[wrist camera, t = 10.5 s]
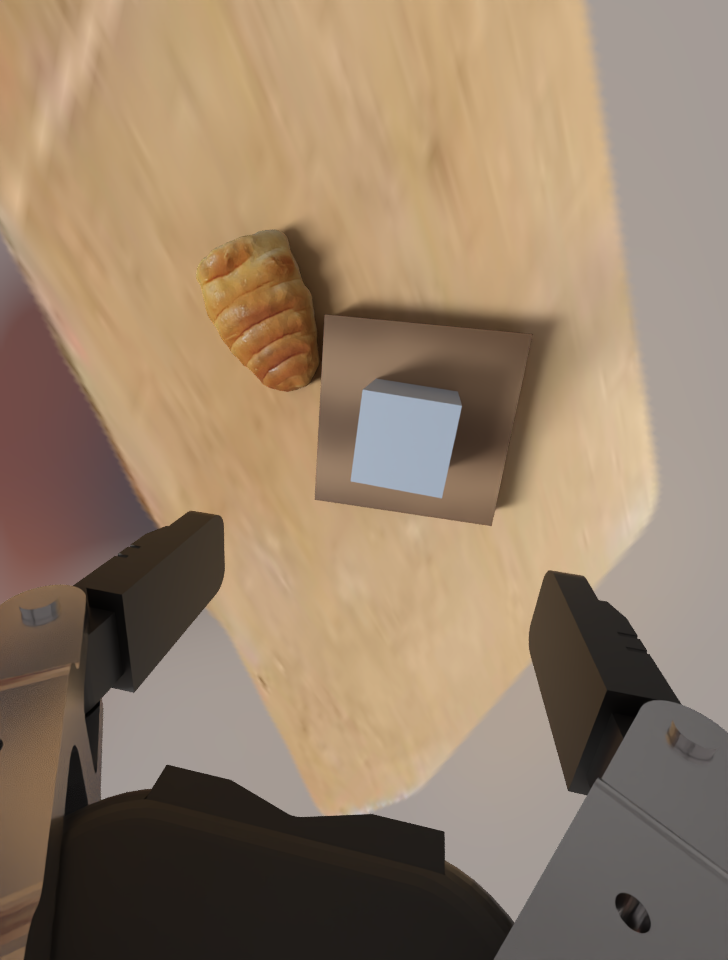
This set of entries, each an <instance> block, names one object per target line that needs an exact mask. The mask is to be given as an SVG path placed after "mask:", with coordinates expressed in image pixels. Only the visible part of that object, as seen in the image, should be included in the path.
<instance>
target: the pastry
mask: <svg viewBox="0 0 728 960" xmlns="http://www.w3.org/2000/svg"><path fill="white" fill-rule="evenodd" d="M196 279H197V281H198V282H199V284H200V286H201V289H202V293H203V298H204V302H205V307H206V311H207V314H208V316H209V318H210V320H211V321H212V322H213V324H214V326H215V327H216V328H217V330H218V332H219V334H220V336H221V338H222V340H223V341H224V343H225V344H227V346H228V347H229V349H230V351H231V352H232V354H233V355H235V356H236V357H237V358H238V359H239V360H240V361H241V363H242V364H243V365H244V366H246V367H248V368H249V369H250V370H251V371H252V372H253V373H254V374H255V375H256V376H257V377H258V378H259V379H260V381H261V382H262V383H263V384H264V385H265V386H267V387H269V388H272V389H276V390H280V391H286V392H288V391H294V390H297V389H299V388H301V387H304V386H307V385H308V384H309V383H310V382H311V380H312V378H313V376H314V373H315V371H316V369H317V367H318V365H319V355H318V346H317V333H318V332H317V328H316V323H315V319H314V314H315V312H314V309H313V300H312V296H311V293H310V291H309V289H308V288H307V287H306V286H305V285H304V283H303V281H302V277H301V274H300V271H299V267H298V265H297V262H296V260H295V259H294V257H293V255H292V253H291V251H290V245H289V241H288V238H287V236H286V235H285V234H284V233H283V232H281V231H279V230H265V231H259V232H257V233H256V234H253V235H249V236H243V237H239V238H237V239H236V240H233V241H230V242H228V243H226V244H224V245H222V246H220V247H217V248H215V249H214V250H213V251H212V252H211V253H210V254H209V255H208V256H207V257H205V258H203V260H202V261H201V262H200V264H199V266H198V268H197V274H196Z"/></svg>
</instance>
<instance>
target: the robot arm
mask: <svg viewBox="0 0 728 960" xmlns="http://www.w3.org/2000/svg"><path fill="white" fill-rule="evenodd" d="M224 571H225V561H224V523H223V519H222V517H221V516H219V515H214V514H208V513H202V512H196V511H189V512H187V513H186V514H185V515H183V516H182V517H180V518H179V519H178V520H176V521H175V522H174V523H172V524H171V525H170V526H165V527H163V528H160V529H157V530H155V531H152V532H150V533H147V534H145V535H144V536H142V537H141V538H140V539H138V540H137V541H135V542H134V543H132V544H131V546H130V547H127V548H126V549H124V550H123V551H121V552H120V553H118V556H114V557H113V558H111V559H110V560H109V561H107V562H106V563H104V564H103V565H101V566H100V567H99V568H97V569H96V570H94V571H93V572H92V573H90V574H89V575H87V576H86V577H85V578H83V579H82V580H80V581H79V582H78V583H76V584H75V585H73V586H70V585H49V586H43V587H38V588H35V589H31V590H28V591H25V592H22V593H20V594H18V595H16V596H14V597H12V598H10V599H8V600H7V601H5V602H4V603H2V604H1V605H0V960H728V733H727V732H726V731H725V730H724V729H723V728H721V727H720V726H719V725H718V724H716V723H715V722H713V721H712V720H711V719H709V718H707V717H706V716H704V715H702V714H701V713H699V712H697V711H695V710H693V709H691V708H689V707H686V706H683V705H682V704H681V703H680V701H679V700H678V698H677V697H676V695H675V694H674V692H673V690H672V689H671V687H670V686H669V684H668V683H667V681H666V679H665V678H664V676H663V675H662V673H661V672H660V670H659V668H658V667H657V665H656V664H655V662H654V661H653V659H652V658H651V656H650V654H647V650H646V648H645V647H644V645H643V643H642V642H641V641H640V639H637V634H636V633H635V631H634V629H633V628H632V626H631V625H630V623H629V621H628V620H627V619H626V617H624V616H623V615H622V614H621V613H619V611H617V610H616V609H615V608H614V607H613V606H612V605H610V604H609V603H608V602H606V601H600V600H598V599H597V597H596V595H595V593H594V591H593V590H592V588H591V586H590V585H589V583H588V581H587V579H586V578H585V577H584V576H581V575H575V574H569V573H563V572H557V571H551V570H550V571H548V572H547V573H546V574H545V576H544V579H543V582H542V586H541V589H540V593H539V597H538V600H537V604H536V607H535V611H534V614H533V618H532V621H531V625H530V631H529V650H530V655H531V658H532V662H533V666H534V669H535V673H536V676H537V680H538V684H539V687H540V691H541V694H542V698H543V702H544V705H545V709H546V713H547V716H548V719H549V723H550V727H551V731H552V734H553V738H554V741H555V745H556V749H557V752H558V756H559V760H560V763H561V767H562V770H563V774H564V778H565V781H566V785H567V789H568V791H571V792H575V793H579V794H584V795H587V797H586V798H585V800H584V802H583V804H582V805H581V807H580V809H579V811H578V812H577V814H576V816H575V818H574V820H573V821H572V823H571V825H570V826H569V828H568V830H567V832H566V833H565V835H564V837H563V839H562V840H561V842H560V844H559V846H558V847H557V849H556V851H555V853H554V855H553V856H552V858H551V860H550V862H549V863H548V865H547V867H546V869H545V870H544V872H543V874H542V876H541V878H540V879H539V881H538V883H537V885H536V886H535V888H534V890H533V891H532V893H531V895H530V897H529V899H528V900H527V902H526V904H525V906H524V907H523V909H522V911H521V913H520V914H519V916H518V918H517V920H516V921H515V923H514V922H513V920H512V919H511V918H510V916H509V915H508V914H507V913H506V912H505V911H504V910H503V908H502V907H501V906H500V905H499V904H498V903H497V902H496V901H495V900H494V898H493V897H492V896H491V895H490V894H489V893H488V892H486V891H485V890H484V889H483V888H482V887H481V886H480V885H479V884H478V883H477V882H475V881H474V880H473V879H472V878H470V877H469V876H468V875H466V874H465V873H464V872H462V871H461V870H460V869H458V868H457V867H455V866H454V865H452V864H450V863H448V862H447V861H445V848H444V847H445V842H444V841H445V837H444V832H443V831H440V830H435V829H431V828H427V827H423V826H419V825H415V824H411V823H407V822H402V821H398V820H394V819H390V818H386V817H382V816H377V815H373V814H364V815H341V816H318V817H295V816H291V815H289V814H287V813H285V812H284V811H282V810H280V809H279V808H277V807H275V806H274V805H272V804H270V803H269V802H267V801H265V800H264V799H262V798H260V797H258V796H257V795H255V794H253V793H252V792H250V791H248V790H247V789H245V788H243V787H242V786H240V785H238V784H237V783H235V782H233V781H232V780H229V779H224V778H220V777H216V776H212V775H208V774H204V773H200V772H195V771H191V770H187V769H183V768H179V767H175V766H171V765H166V767H165V769H164V770H163V772H162V773H161V775H160V777H159V778H158V780H157V781H156V783H155V785H154V786H153V788H152V789H144V790H138V791H132V792H126V793H122V794H119V795H116V796H112V797H108V798H106V799H103V800H101V768H102V738H103V702H102V697H103V696H104V695H105V694H106V693H107V692H108V691H109V689H110V688H115V689H120V690H125V691H129V692H133V693H134V692H135V691H136V690H137V689H138V687H139V686H140V685H141V684H142V683H143V681H144V680H145V679H146V678H147V677H148V675H149V674H150V673H151V672H152V671H153V669H154V668H155V667H156V666H157V664H158V663H159V662H160V661H161V660H162V658H163V657H164V656H165V655H166V654H167V652H168V651H169V650H170V649H171V647H172V646H173V645H174V644H175V643H176V642H177V640H178V639H179V638H180V637H181V635H182V634H183V633H184V632H185V631H186V629H187V628H188V627H189V626H190V625H191V624H192V622H193V621H194V620H195V619H196V618H197V616H198V615H199V614H200V612H202V610H203V609H204V608H205V607H206V606H207V604H208V603H209V602H210V601H211V600H212V598H213V597H214V596H215V595H216V593H217V592H218V590H219V589H220V587H221V584H222V581H223V577H224Z"/></svg>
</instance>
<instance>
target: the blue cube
mask: <svg viewBox="0 0 728 960" xmlns="http://www.w3.org/2000/svg"><path fill="white" fill-rule="evenodd" d="M461 408H462V404H461V401H460V397H459V394H458V392H457V391H451V390H445V389H439V388H432V387H426V386H420V385H414V384H407V383H401V382H395V381H389V380H382V379H375V380H374V381H373V382H371V383H370V384H369V385H368V386H366V387H365V388H364V389H363V391H362V398H361V406H360V413H359V421H358V429H357V436H356V444H355V451H354V459H353V466H352V474H351V482H357V483H362V484H368V485H373V486H378V487H384V488H389V489H394V490H400V491H405V492H410V493H416V494H421V495H426V496H432V497H437V498H442V496H443V491H444V486H445V482H446V477H447V473H448V468H449V463H450V459H451V454H452V449H453V445H454V440H455V436H456V431H457V426H458V422H459V417H460V413H461Z"/></svg>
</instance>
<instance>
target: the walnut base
mask: <svg viewBox="0 0 728 960" xmlns="http://www.w3.org/2000/svg"><path fill="white" fill-rule="evenodd" d="M532 335H533V334H526V333H515V332H505V331H494V330H484V329H473V328H462V327H452V326H441V325H431V324H420V323H410V322H399V321H389V320H378V319H368V318H357V317H347V316H336V315H325V318H324V337H323V355H322V374H321V393H320V411H319V430H318V449H317V467H316V486H315V500H321V501H328V502H334V503H341V504H348V505H354V506H361V507H368V508H374V509H381V510H388V511H395V512H401V513H408V514H415V515H421V516H428V517H435V518H441V519H448V520H455V521H461V522H468V523H475V524H482V525H488V526H492V522H493V517H494V512H495V508H496V503H497V498H498V494H499V489H500V484H501V480H502V475H503V470H504V466H505V461H506V456H507V452H508V447H509V442H510V438H511V433H512V428H513V424H514V419H515V414H516V410H517V405H518V400H519V396H520V391H521V386H522V381H523V377H524V372H525V367H526V363H527V358H528V353H529V349H530V344H531V339H532ZM375 379H382V380H389V381H395V382H401V383H407V384H414V385H420V386H426V387H432V388H439V389H445V390H451V391H457V392H458V394H459V397H460V401H461V404H462V408H461V413H460V417H459V422H458V426H457V431H456V436H455V440H454V445H453V449H452V454H451V459H450V463H449V468H448V473H447V477H446V482H445V486H444V491H443V496H442V498H437V497H432V496H426V495H421V494H416V493H410V492H405V491H400V490H394V489H389V488H384V487H378V486H373V485H368V484H362V483H357V482H351V474H352V466H353V459H354V451H355V444H356V436H357V429H358V421H359V413H360V406H361V398H362V391H363V389H364V388H365V387H366V386H368V385H369V384H370V383H371V382H373V381H374V380H375Z"/></svg>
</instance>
